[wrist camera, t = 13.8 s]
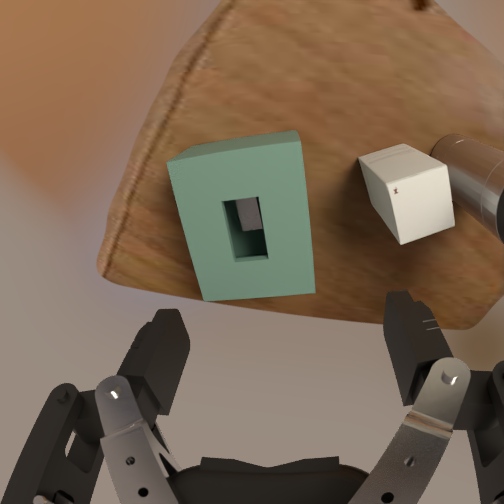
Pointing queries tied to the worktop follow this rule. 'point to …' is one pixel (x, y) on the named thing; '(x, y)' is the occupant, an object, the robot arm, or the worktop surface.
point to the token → (249, 213)
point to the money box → (228, 222)
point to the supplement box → (408, 191)
